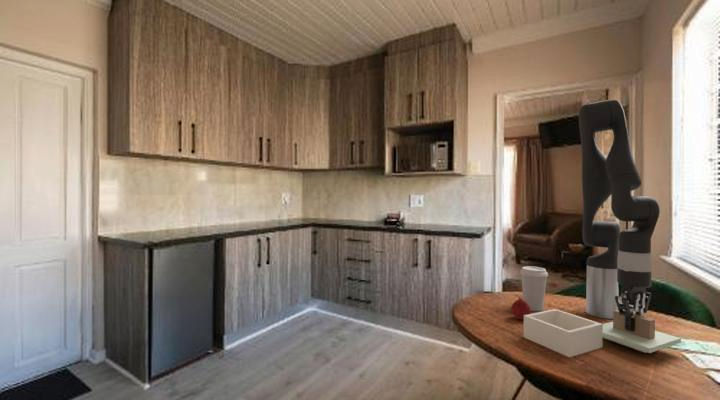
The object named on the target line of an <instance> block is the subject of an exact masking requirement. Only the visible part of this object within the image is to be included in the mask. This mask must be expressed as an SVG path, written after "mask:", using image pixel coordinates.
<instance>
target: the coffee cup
mask: <svg viewBox="0 0 720 400" xmlns="http://www.w3.org/2000/svg"><path fill="white" fill-rule="evenodd" d="M519 274H520V276H521V278H520V279H521V286H522V298H523V300H524V301H526V302H527V303H528V305H529V306H530V312H531V311H532V312H543V311H544V305H545V304H544V303H545V296H546V295H545V294H546V288H547V277H549V273H548V272H547V270H546V268H544V267H541V266H540V267H539V266H535V265H533V266H532V265H530V266H529V265H527V266H522V268H521V269H520V271H519Z"/></svg>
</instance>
